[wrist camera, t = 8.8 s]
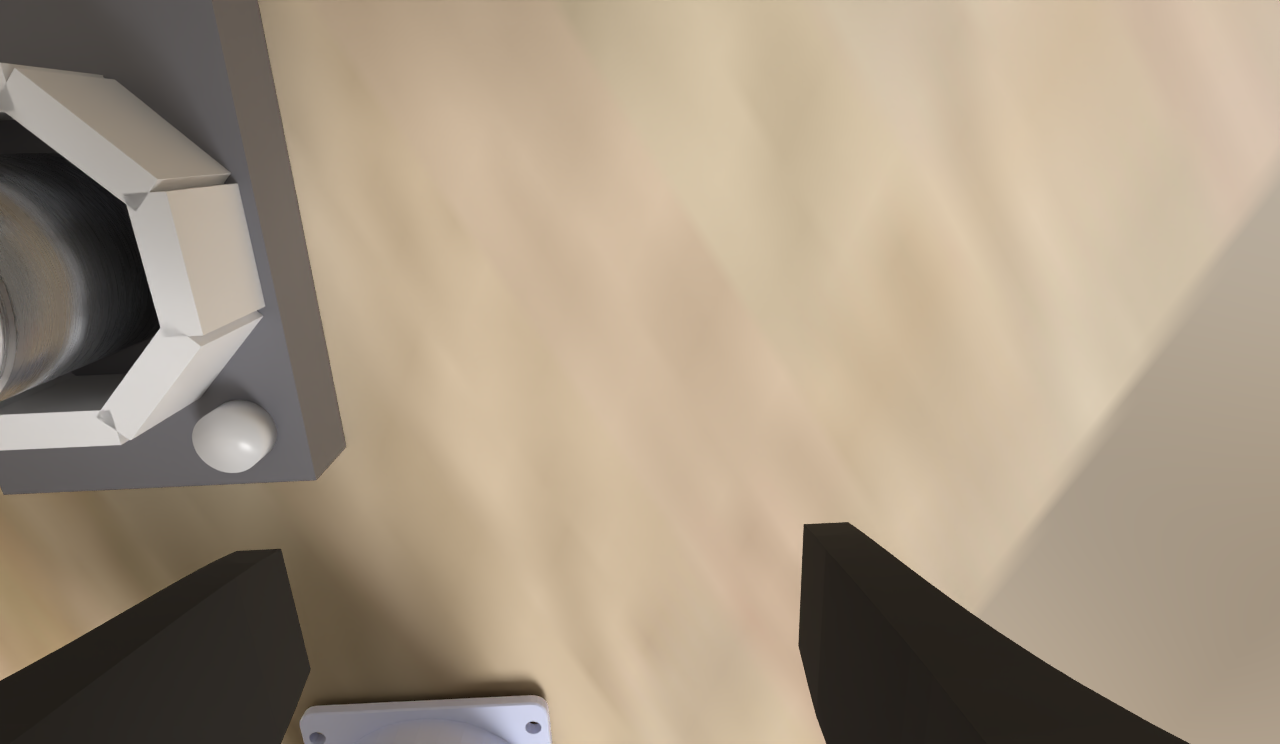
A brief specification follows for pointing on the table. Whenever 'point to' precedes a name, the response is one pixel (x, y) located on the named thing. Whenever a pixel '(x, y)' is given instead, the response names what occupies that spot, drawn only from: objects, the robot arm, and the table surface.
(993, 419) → the table surface
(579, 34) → the table surface
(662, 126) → the table surface
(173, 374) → the camera body
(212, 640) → the robot arm
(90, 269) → the lens
